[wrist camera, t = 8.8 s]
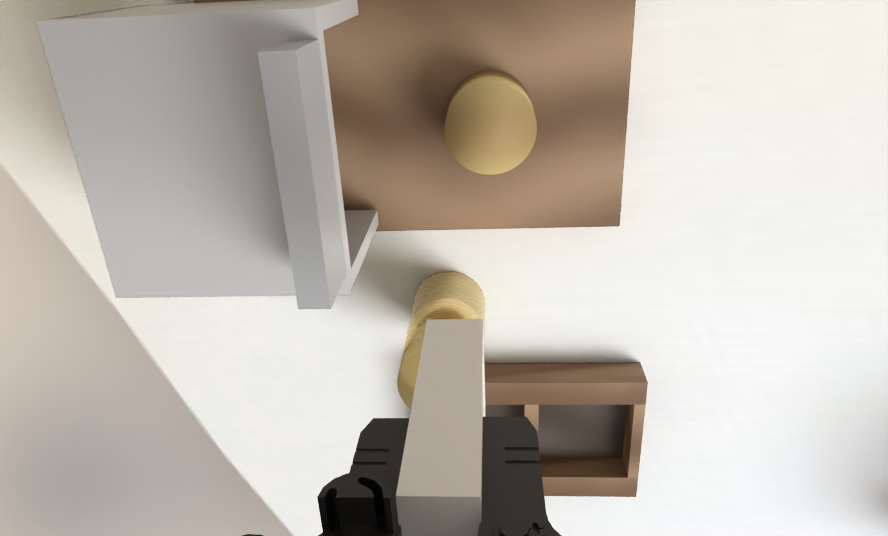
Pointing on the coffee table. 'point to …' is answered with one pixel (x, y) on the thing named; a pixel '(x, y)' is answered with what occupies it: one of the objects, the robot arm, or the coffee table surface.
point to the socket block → (576, 421)
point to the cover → (211, 147)
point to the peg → (436, 301)
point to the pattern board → (415, 96)
